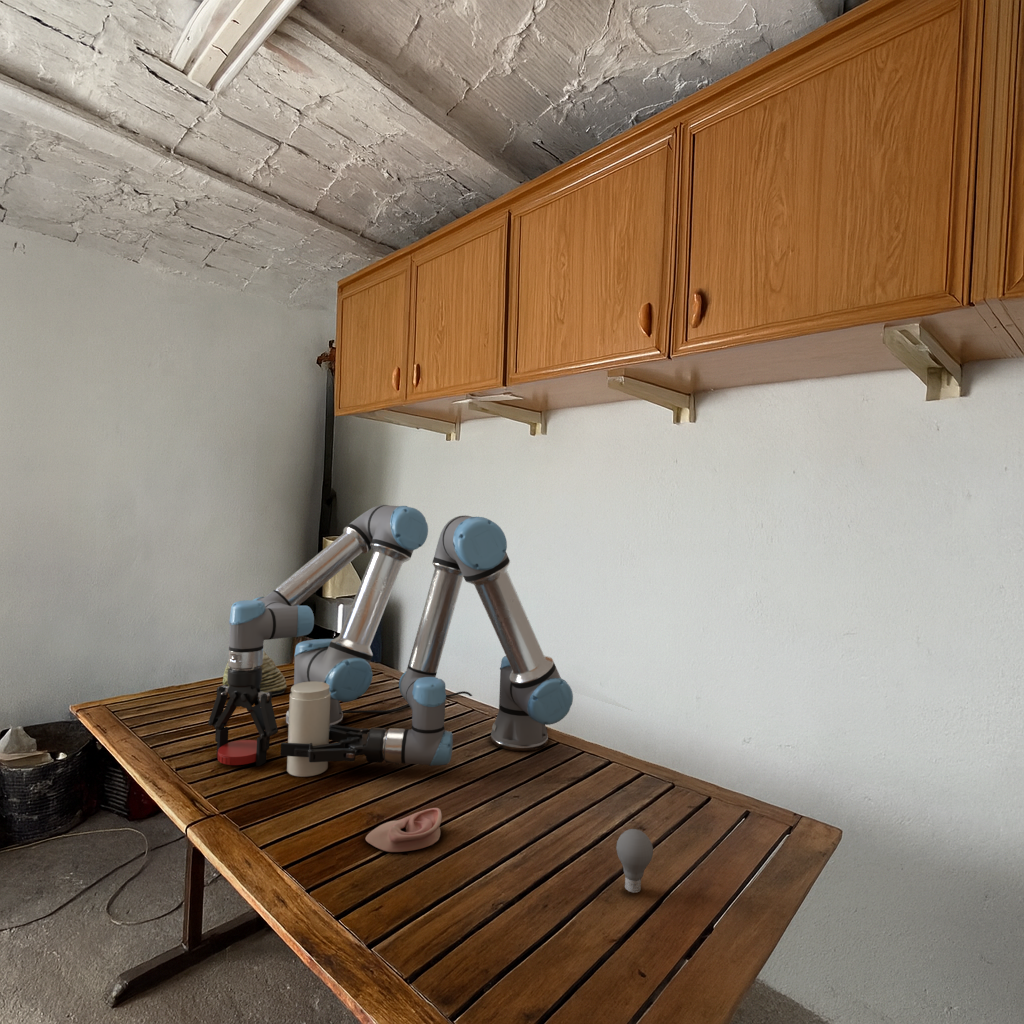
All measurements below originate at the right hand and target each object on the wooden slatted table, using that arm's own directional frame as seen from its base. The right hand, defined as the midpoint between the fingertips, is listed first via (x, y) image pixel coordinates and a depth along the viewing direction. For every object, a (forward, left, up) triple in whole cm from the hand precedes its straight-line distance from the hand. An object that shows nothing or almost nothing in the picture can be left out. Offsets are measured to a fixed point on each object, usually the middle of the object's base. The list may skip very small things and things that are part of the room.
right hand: (289, 740), depth 147 cm
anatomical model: (-17, +39, -6) cm, 43 cm away
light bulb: (-49, +68, -6) cm, 84 cm away
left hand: (+10, -7, -6) cm, 14 cm away
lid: (+10, -7, -3) cm, 13 cm away
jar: (-4, +2, -6) cm, 8 cm away
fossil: (+5, -58, -6) cm, 59 cm away
